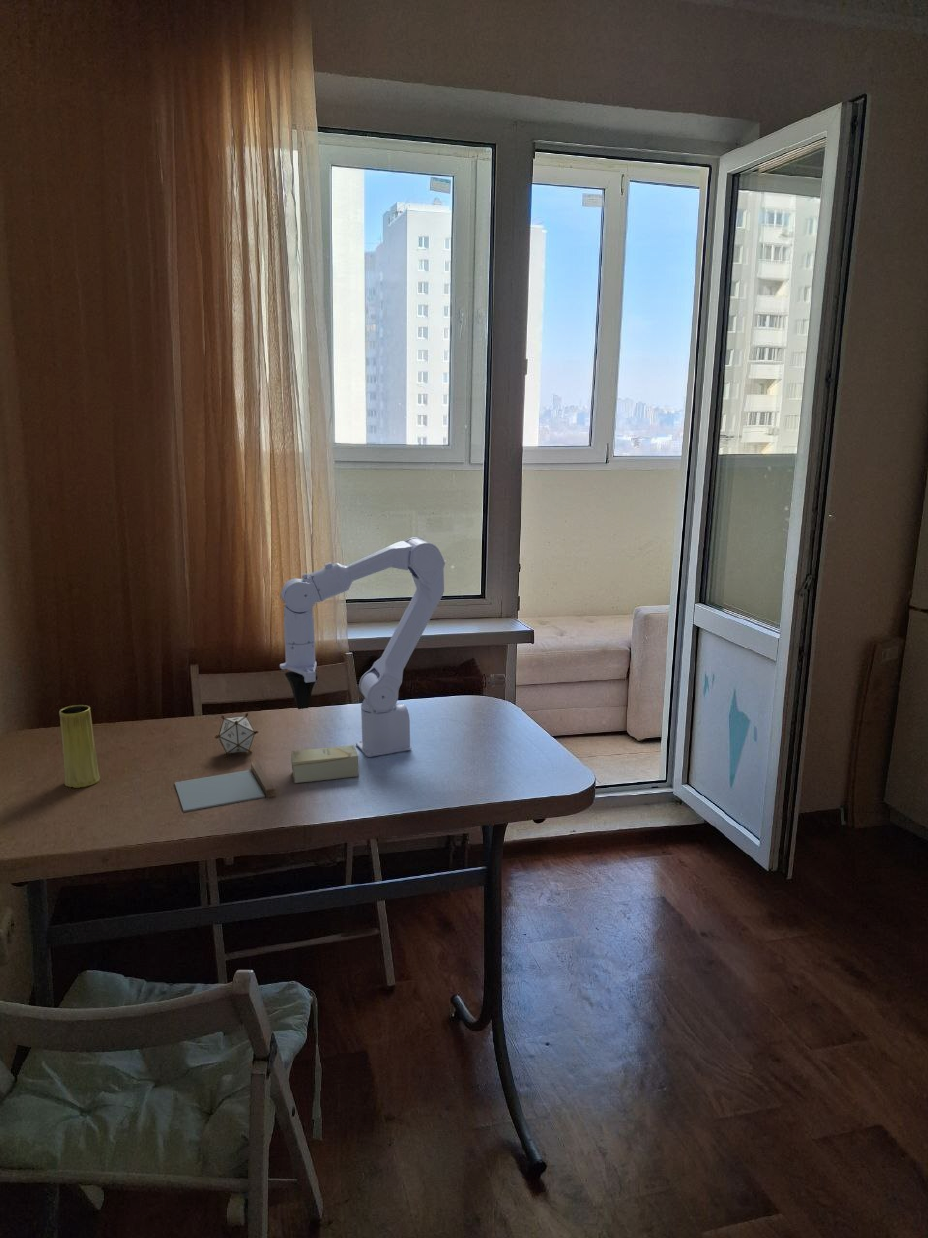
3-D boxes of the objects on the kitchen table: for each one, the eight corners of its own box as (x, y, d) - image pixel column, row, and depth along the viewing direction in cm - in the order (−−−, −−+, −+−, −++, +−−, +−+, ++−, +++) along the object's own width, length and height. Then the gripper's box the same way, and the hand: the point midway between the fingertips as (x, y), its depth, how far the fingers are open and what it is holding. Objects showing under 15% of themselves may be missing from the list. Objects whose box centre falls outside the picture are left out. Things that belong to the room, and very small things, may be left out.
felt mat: (250, 771, 167) (250, 769, 167) (264, 797, 155) (264, 795, 155) (174, 784, 161) (174, 782, 161) (183, 812, 150) (183, 810, 150)
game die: (243, 773, 175) (243, 746, 168) (206, 756, 176) (204, 729, 169) (265, 740, 181) (267, 712, 174) (229, 723, 182) (229, 696, 175)
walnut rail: (259, 768, 168) (258, 761, 168) (275, 796, 156) (274, 788, 155) (251, 770, 168) (250, 762, 167) (266, 798, 155) (266, 790, 155)
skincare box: (290, 751, 166) (353, 743, 169) (291, 772, 167) (354, 764, 170) (293, 763, 160) (358, 754, 163) (294, 785, 161) (360, 776, 164)
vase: (107, 777, 164) (99, 705, 161) (83, 790, 159) (75, 716, 156) (81, 773, 166) (73, 702, 163) (57, 786, 161) (48, 712, 157)
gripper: (270, 634, 173) (274, 699, 176) (288, 652, 160) (291, 721, 163) (305, 631, 176) (308, 695, 179) (325, 648, 163) (327, 716, 166)
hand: (302, 707), depth 171 cm, fingers closed
